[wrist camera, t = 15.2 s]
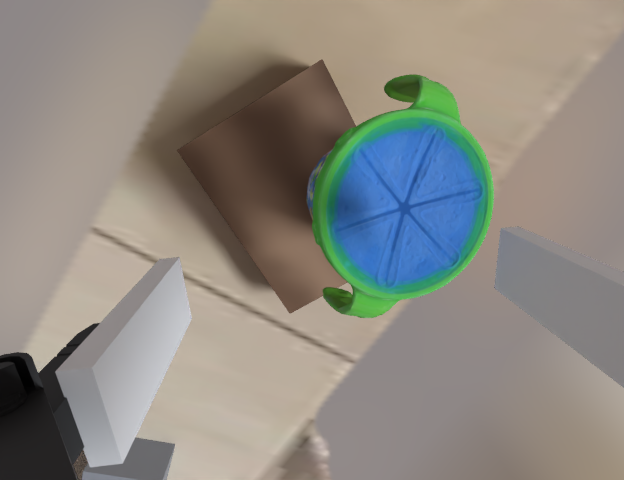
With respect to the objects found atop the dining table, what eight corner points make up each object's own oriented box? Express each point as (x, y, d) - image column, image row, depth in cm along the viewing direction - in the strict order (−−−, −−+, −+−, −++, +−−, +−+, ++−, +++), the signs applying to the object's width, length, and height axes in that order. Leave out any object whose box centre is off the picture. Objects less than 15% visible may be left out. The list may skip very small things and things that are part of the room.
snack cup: (366, 298, 31) (430, 359, 21) (254, 260, 28) (268, 313, 18) (440, 129, 29) (546, 113, 19) (329, 69, 26) (389, 15, 16)
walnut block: (289, 289, 37) (289, 313, 32) (193, 146, 32) (176, 150, 27) (398, 228, 36) (415, 245, 31) (316, 68, 30) (322, 59, 26)
